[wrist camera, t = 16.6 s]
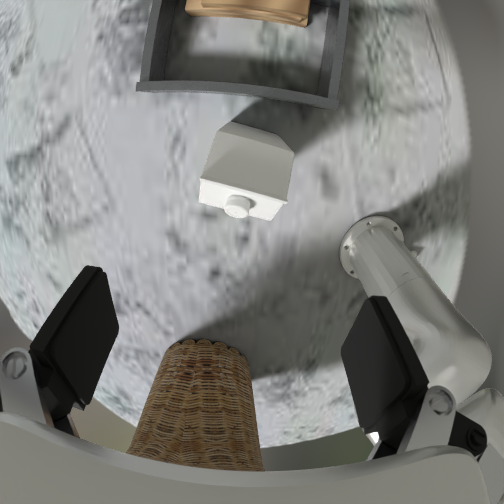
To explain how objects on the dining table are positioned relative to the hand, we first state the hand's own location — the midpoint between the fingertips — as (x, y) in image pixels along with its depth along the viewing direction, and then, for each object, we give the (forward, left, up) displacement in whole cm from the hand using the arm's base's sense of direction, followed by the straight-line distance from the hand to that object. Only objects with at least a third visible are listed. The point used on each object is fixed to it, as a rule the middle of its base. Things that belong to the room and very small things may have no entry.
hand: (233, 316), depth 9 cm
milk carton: (0, 0, -32) cm, 33 cm away
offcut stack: (+2, -23, -32) cm, 40 cm away
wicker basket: (+4, +50, -32) cm, 60 cm away
